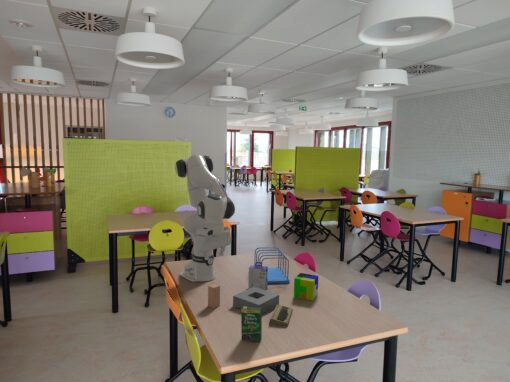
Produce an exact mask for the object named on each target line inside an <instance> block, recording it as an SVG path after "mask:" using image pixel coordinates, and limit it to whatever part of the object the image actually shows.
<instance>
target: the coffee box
mask: <svg viewBox="0 0 510 382" xmlns="http://www.w3.org/2000/svg"><path fill="white" fill-rule="evenodd" d="M240 313H241V314H240V315H241V316H240V318H241V319H240V320H241V321H240V323H241V325H240V326H241V340H242V341H247V342H255V343H261V342H262V339H263V338H262V336H263V334H262V333H263V332H262V327H263V326H262V325H263V324H262V322H263V321H262V315H263V314H262V308H254V307H245V306H243V307H242V309H240Z"/></svg>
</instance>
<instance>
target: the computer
mask: <svg viewBox="0 0 510 382" xmlns="http://www.w3.org/2000/svg"><path fill="white" fill-rule="evenodd" d="M293 311H294V309H293V308H292V307H290V306H286V305H282V304H279V305H276V306H275V307H274V310H273V312H272V315H271V316H270V319H269V321H268V324H269V325H272V326H278V327H286V328H287V327H288V325H289V322H290V320H291V317H292V313H293Z"/></svg>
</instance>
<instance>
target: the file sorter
mask: <svg viewBox="0 0 510 382" xmlns="http://www.w3.org/2000/svg"><path fill="white" fill-rule="evenodd" d="M257 250H258V251H257ZM259 252H260V253H259ZM258 253H259V254H258ZM260 255H261V256H260ZM277 256H278V257H277ZM263 257H264V258H263ZM254 259H255V261H254V262H253V263H254V265H253V266H255V264H256V262H262V263H263V261H265V260H268V259H270V260H271V259H278V260H277V261H278V263H277V265H278V266H277V267H276V266H275V267H273V266H271V267H270V266H269V267H268V279H267V285H268V284H270V285H272V284H290V279H289V270H290V269H289V268H290V266H289V265H290V263H289V259H288V258H287V256H285V255H284V253H283V252H282V251H281V249H279V247H276V246H273V247H270V246H269V247H267V246H265V247H257V248H255V250H254ZM257 265H261V264H260V263H257Z"/></svg>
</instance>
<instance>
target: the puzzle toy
mask: <svg viewBox="0 0 510 382" xmlns="http://www.w3.org/2000/svg"><path fill="white" fill-rule="evenodd" d="M293 281H294V282H293V298H298V299H303V300H308V301H314V300H315V298H316V297H317V295H318V293H319V275H316V274H309V273H303V272H299V274H297V276H295V277H294V279H293Z"/></svg>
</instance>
